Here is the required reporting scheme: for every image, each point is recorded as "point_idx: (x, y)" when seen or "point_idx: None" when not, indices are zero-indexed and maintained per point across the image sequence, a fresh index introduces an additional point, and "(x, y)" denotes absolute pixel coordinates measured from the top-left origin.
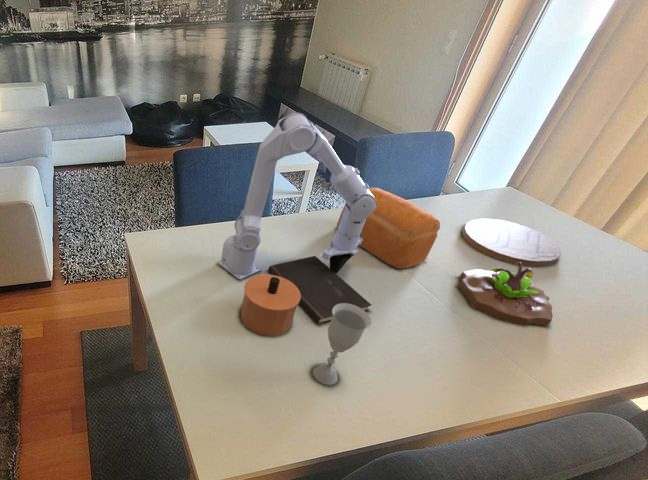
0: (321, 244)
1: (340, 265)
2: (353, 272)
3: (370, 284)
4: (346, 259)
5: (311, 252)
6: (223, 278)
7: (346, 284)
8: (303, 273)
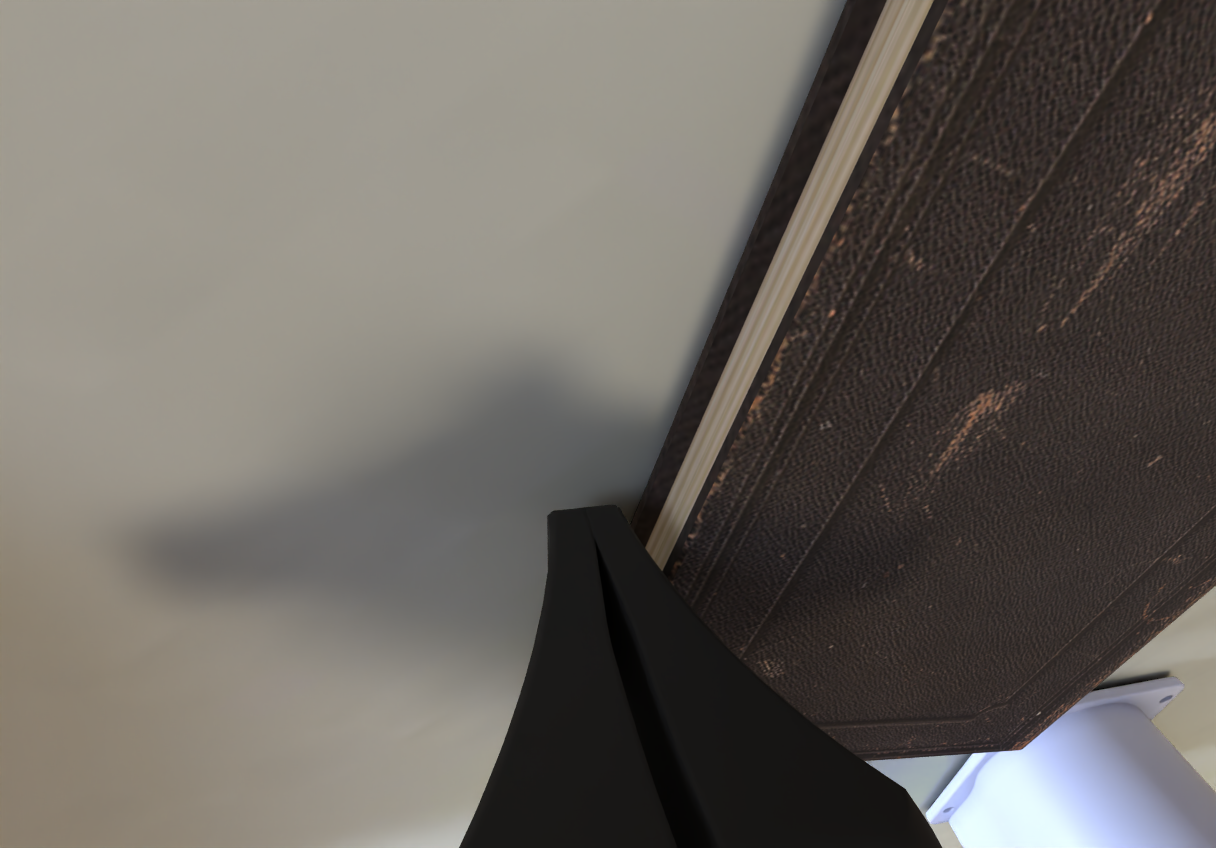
0: (223, 839)
1: (697, 644)
2: (224, 430)
3: (140, 12)
4: (726, 800)
5: (438, 779)
6: (1193, 699)
7: (867, 248)
8: (977, 627)
